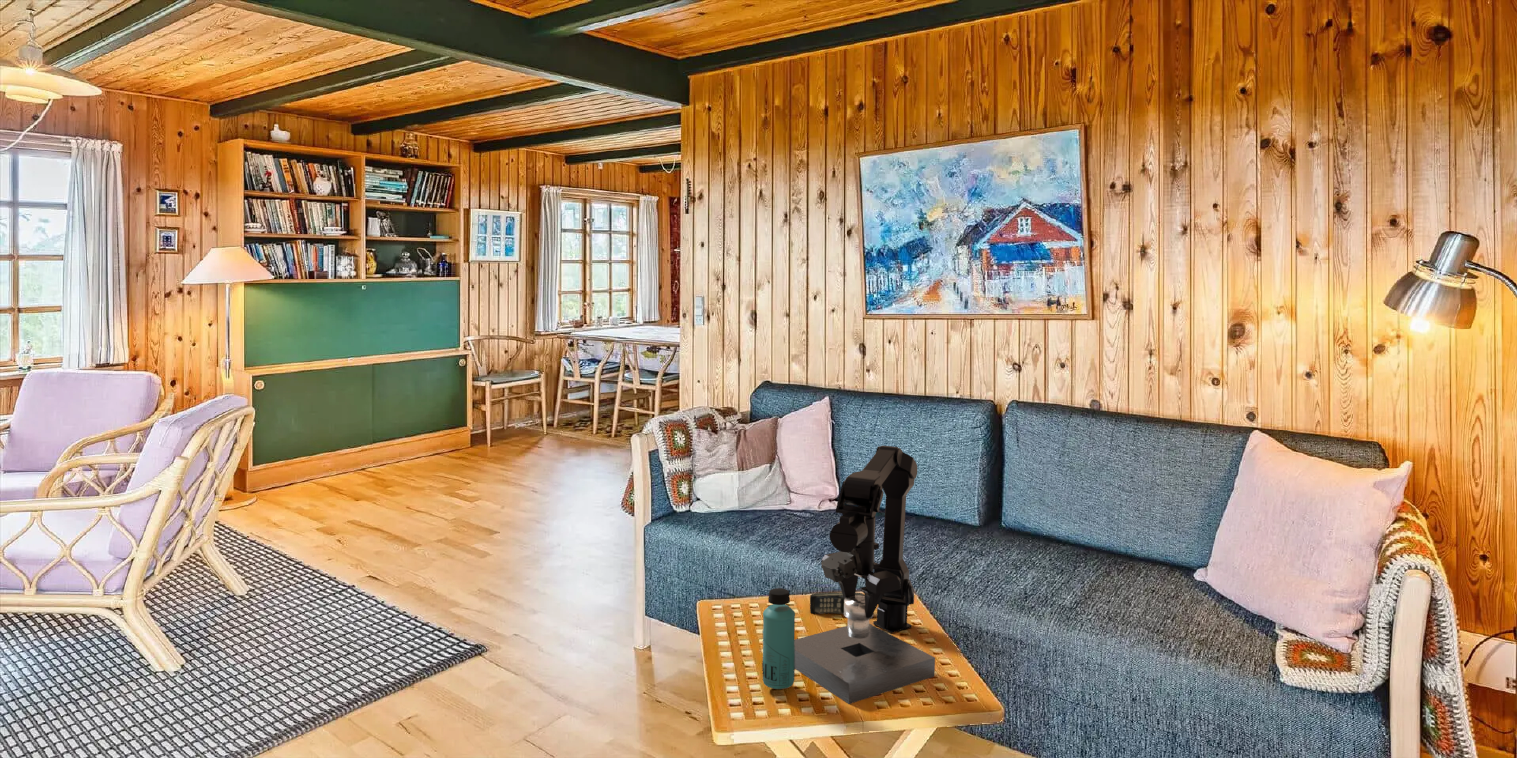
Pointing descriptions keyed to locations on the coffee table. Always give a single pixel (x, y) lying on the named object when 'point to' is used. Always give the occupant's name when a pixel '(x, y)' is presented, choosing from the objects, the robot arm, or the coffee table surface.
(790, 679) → the beverage bottle
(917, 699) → the coffee table surface
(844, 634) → the bore block
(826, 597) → the mobile phone
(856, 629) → the end cover
